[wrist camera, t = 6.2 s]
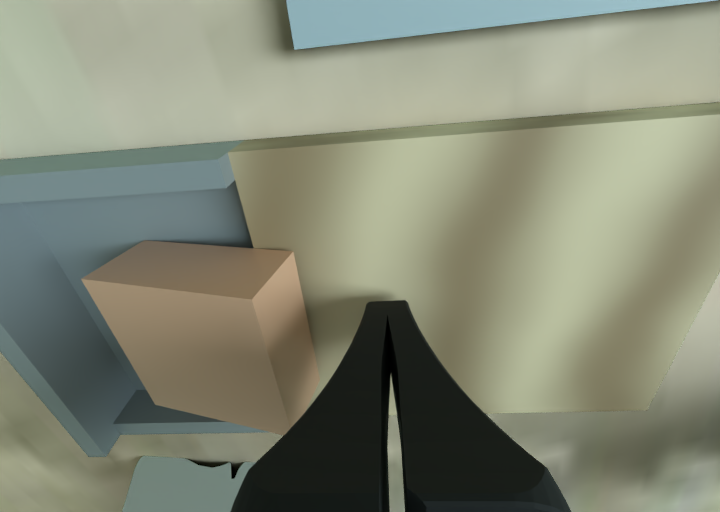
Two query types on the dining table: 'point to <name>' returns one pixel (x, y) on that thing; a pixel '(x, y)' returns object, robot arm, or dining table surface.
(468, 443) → the robot arm
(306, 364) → the tile
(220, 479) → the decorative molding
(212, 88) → the dining table surface
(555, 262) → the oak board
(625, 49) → the dining table surface
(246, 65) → the dining table surface
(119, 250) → the tray
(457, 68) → the dining table surface
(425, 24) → the pale blue flat panel
